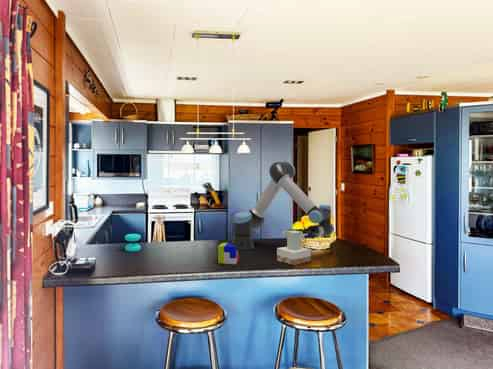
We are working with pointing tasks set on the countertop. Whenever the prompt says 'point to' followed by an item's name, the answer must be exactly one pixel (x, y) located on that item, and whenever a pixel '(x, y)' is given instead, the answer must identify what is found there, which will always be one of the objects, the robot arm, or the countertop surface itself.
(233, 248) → the puzzle toy
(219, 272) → the countertop surface
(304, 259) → the tower base
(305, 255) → the tower top
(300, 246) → the sage block
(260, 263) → the countertop surface
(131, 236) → the teal spool
